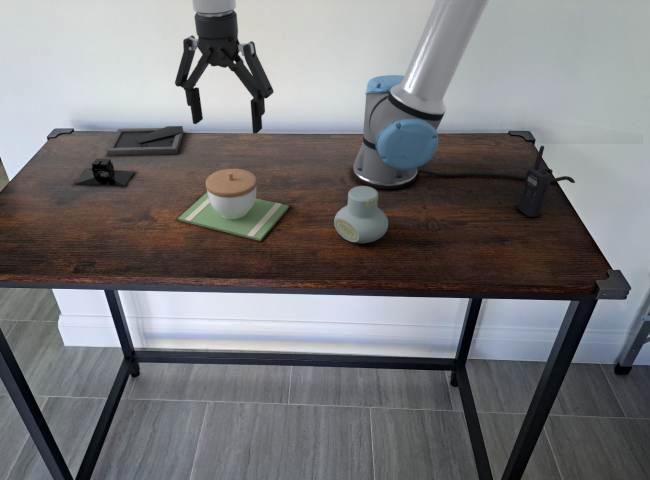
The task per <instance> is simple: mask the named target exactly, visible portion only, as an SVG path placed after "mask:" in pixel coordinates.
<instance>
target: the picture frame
mask: <svg viewBox="0 0 650 480" xmlns="http://www.w3.org/2000/svg"><path fill="white" fill-rule="evenodd" d="M183 136H184V127H183V125H167V126H165V127H144V128H143V127H142V128H139V127H138V128H136V127H135V128H117V130H116V131H115V134H114V136H113V137H112V139H111V141H110V143H109V145H108V147H107V149H106V153H107V156H108V157H119V156H121V157H122V156H124V157H125V156H157V155H158V156H161V155H162V156H166V155H167V156H168V155H177V154H178V152H179V149H180V146H181V142H182V140H183Z"/></svg>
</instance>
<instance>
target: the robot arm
mask: <svg viewBox="0 0 650 480" xmlns="http://www.w3.org/2000/svg"><path fill="white" fill-rule="evenodd" d="M489 1H490V0H435V1H434V4H433V6H432V8H431V11H430V13H429V16H428V18H427V20H426V23H425V25H424V27H423V29H422V33H421V35H420V38H419V40H418V42H417V44H416V47H415V50H414V52H413V55H412V57H411V59H410V61H409V64H408V66H407V69H406V71H405V74H404V75H402V74H400V75H399V74H387V75H379V76H375V77H374V76H373V77H372V78H370V79H369V80H368V82H367V83H366V90H365V92H364V94H365V104H364V117H363V120H364V121H363V134H362V144H361V146H360V148H359V150H358V153H357V156H356V157H355V160H354V163H353V166H352V175H353V178H354V179H355V180H356V181H357V182H358V183H360V184H362V185H363V186H368V187H371V188H373V189H378V190H398V189H402V188H406V187H407V186H410V185H412V184H413V183H414V182H415V181H416V180H417V177H418V173H419V174H424V175H425V174H426V175H431V176H436V177H449V178H451V177H492V178H493V177H494V178H495V177H497V178H507V179H508V178H510V179H519V180H524V181H525V178H526V175H520V174H514V173H503V172H485V171H483V172H482V171H481V172H480V171H471V172H470V171H466V172H465V171H464V172H463V171H462V172H439V171H433V170H428V169H423V168H419V167H422V166H424V165H425V164H427V163H428V162H429V161H431V159H432V158H433V157H434V156H435V154H436V152H437V150H438V147H439V146H438V145H439V133H438V128H439V126H440V125H441V122H442V120H443V119H444V118H443V117H444V116H445V114H446V112H447V107H446V105H445V102H444V97H445V96H446V93H447V91H448V89H449V86H450V84H451V83H452V80H453V77H454V76H455V74H456V71H457V70H458V67H459V65H460V63H461V61H462V59H463V56H464V54H465V52H466V50H467V48H468V46H469V44H470V42H471V40H472V37H473V35H474V33H475V31H476V29H477V27H478V24H479V23H480V20H481V18H482V16H483V13H484V12H485V10H486V7H487V6H488V3H489ZM191 2H192V10H193V11H194V12H195V14H194V17H193V18H194V25H195V31H196V35H197V38H196V37H195V36H194V35H193V34H191V35H190V36H187V37H186V38H184V39H183V41H182V45H183V52H182V56H181V59H180V62H179V66H178V70H177V73H176V77H175V81H174V85H175V87H177V88H179V87H180V88H182V89H183V90H184V93H185V99H186V104H187V106H188V107H190V112H191V119H192V124H193V125H197V124H199V123H200V122H202V120H204V117H203V109H202V102H201V101H202V100H201V96H200V95H201V94H200V88H199V87H196V86H197V83H198V81H199V80H200V79H201V77H202V76H203V74H204V73H205V71H206V69H207V68H208V67H209V65H210V66H211V67H220V68H224V69H225V68H228V69H229V70H230V71H231V72H233V73H234V74H235V76H236V77H237V78H238V79H239V81H240V82H241V84H242V85H243V86H244V87H245V89H246V90H247V91H248V92H249V94H250V95H251V96H252V99H251V100H250V112H251V125H252V127H251V129H252V134H255V135H257V134H258V133H259V132H260V131H261V130H262V129H263V117H262V116H263V115H264V114H265V112H266V106H265V105H266V104H265V99H268V98H269V97H270V96H272V95H273V94H274V93H275V92H274V88H273V86H272V83H271V82H270V80H269V78H268V75H267V73H266V71H265V69H264V67H263V65H262V62H261V61H260V59H259V57H258V54H257V49H256V43H255V42H254V40H253V41H252V40H250V41H249V42H247V43H246V42H245V43H240V41H239V37H238V36H239V24H238V14H237V12H236V11H235V9H236V8H237V3H236V0H191ZM197 50H199V52H200V53H201V56H200V59H199V60H198V61H197V64H196V65H195V67H194V68H193V70H192V71H191V69H192V68H191V67H192V64H193V61H194V57H195V55H196V51H197ZM239 53H241V56H242V57H244V60H245V63H246V65H247V66H246V65H245V63H244V60H243V58H242V57H241V56H240V54H239ZM190 71H191V73H190ZM189 74H190V75H189ZM561 181H568V182H570V183H571V184H575V183H576V181H575V179H574V178H573V177H572V176H568V175H564V176H559V177H555V178H551V182H550V184H551V183H557V182H561Z"/></svg>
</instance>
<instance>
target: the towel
mask: <svg viewBox="0 0 650 480" xmlns="http://www.w3.org/2000/svg"><path fill="white" fill-rule="evenodd" d="M289 208H290V206H289V205H287V204H283V203H281V202H280V203H279V202H274V201H269V200H265V199H260V198H256V199H255V203H254V205H253V207H252V208H251V210H250V211H249V212H248V213H247V214H246V215H245V216H244V217H242V218H239V219H226V218H224V217H222V216H221V215H220V214H219V213H217V212H216V211H215V210H214V209H213V207H212V206H211V204H210V201H209V198H208V194H207V192H206V193H204V194H203V195H202V196H201V197H200V198H199V199H197V201H195V202H194V203H193V204H192V205H191V206H190V207H189V208H188V209H187V210H185V211H184V212H183V213H182V214H181V215H180V216H178V218H177V220H178V221H179V222H183V223H187V224H191V225H195V226H199V227H203V228H207V229H211V230H215V231H219V232H222V233H226V234H227V233H228V234H231V235H235V236H239V237H242V238H247V239H251V240H255V241H258V242H261V241H262V240H263V239H264V238H265V237H266V236H267V234H269V232H270V231H271V230H272V229H273V227H274V226H275V225H276V224H277V223H278V221H280V219H281V218H282V217H283V215H285V214H286V212H287V211H288V210H289Z"/></svg>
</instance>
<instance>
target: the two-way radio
mask: <svg viewBox="0 0 650 480" xmlns="http://www.w3.org/2000/svg"><path fill="white" fill-rule="evenodd" d="M544 151H545V146H544V145H540V147H539V150H538V153H537V156H536V159H535V162H534V166H531V167H529V168H528V170H527V171H526V174H525V176H526V178H525V180H524V182H523V185H522V189H521V192H520V197H519V201H518V205H517V209H518V210H519V211H520V212H522V213H523V214H524V215H525V216H527V217H529V218H536V217H538V216H539V215H540V214H541V211H542V208H543V206H544V203H545V200H546V198H547V194H548V192H549V190H550V189H549V188H550V185H551V183H550V182H551V179H552V175H553V173H554V171H553V169H551V168H548V167H547V166H542V167H540V166H541V162H542V158H543V154H544Z"/></svg>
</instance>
